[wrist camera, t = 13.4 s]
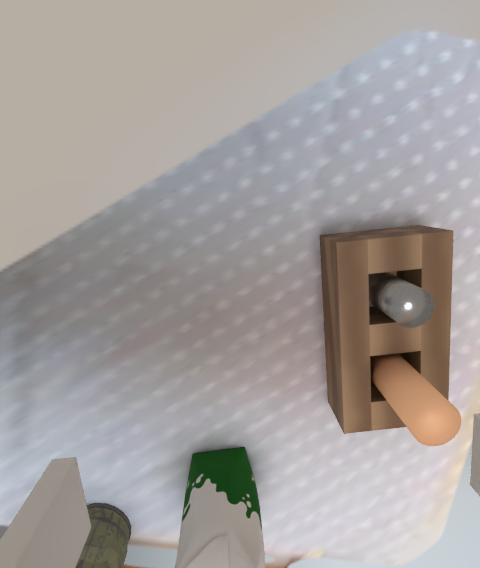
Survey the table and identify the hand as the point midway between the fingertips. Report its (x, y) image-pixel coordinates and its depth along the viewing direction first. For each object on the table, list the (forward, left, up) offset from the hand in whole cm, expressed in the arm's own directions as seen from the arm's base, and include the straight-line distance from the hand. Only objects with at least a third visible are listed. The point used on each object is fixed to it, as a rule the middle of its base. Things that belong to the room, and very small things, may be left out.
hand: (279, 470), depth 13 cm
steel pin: (+16, -3, -34) cm, 37 cm away
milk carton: (-5, -28, -35) cm, 45 cm away
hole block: (+16, -8, -35) cm, 39 cm away
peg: (+16, -12, -33) cm, 39 cm away
